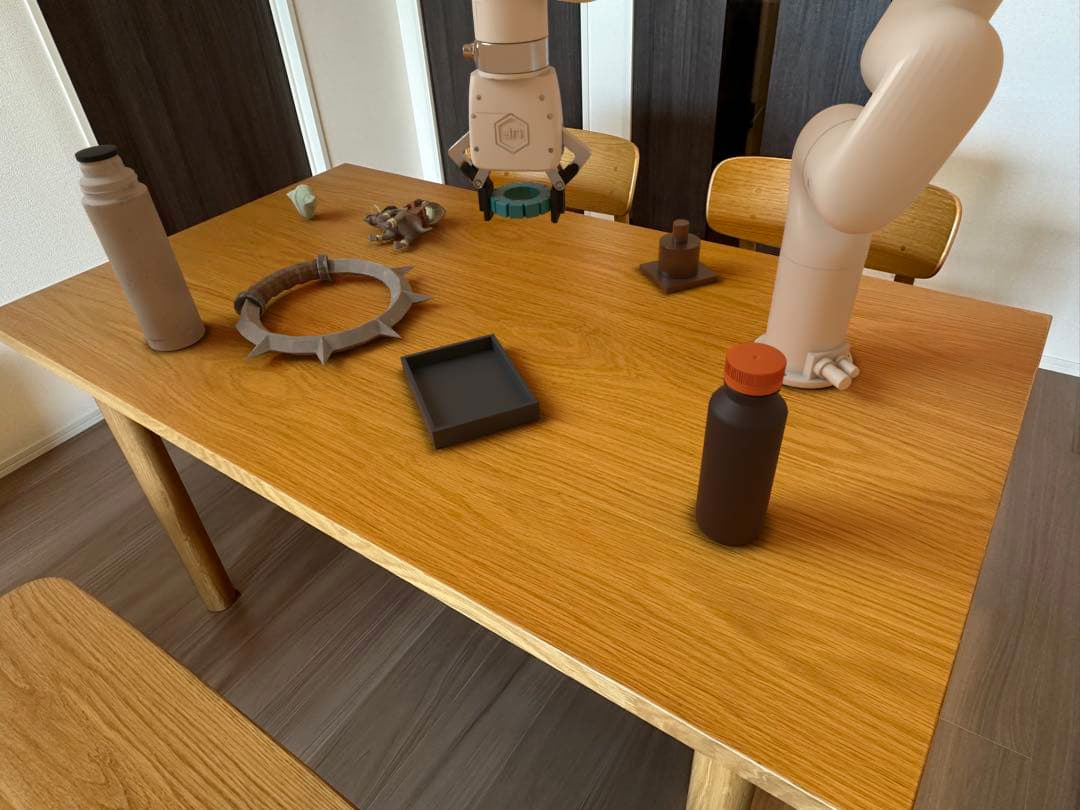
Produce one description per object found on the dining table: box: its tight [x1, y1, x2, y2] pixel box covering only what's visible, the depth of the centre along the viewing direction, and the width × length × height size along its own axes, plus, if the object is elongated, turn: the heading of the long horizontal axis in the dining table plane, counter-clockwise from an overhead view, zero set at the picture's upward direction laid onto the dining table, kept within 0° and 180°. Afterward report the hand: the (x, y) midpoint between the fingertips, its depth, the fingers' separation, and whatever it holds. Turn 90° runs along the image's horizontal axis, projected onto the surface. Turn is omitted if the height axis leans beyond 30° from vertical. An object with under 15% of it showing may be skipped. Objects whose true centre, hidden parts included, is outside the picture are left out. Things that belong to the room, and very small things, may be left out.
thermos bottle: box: [74, 144, 206, 352], centre depth 96 cm, size 8×8×28 cm
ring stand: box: [639, 218, 718, 295], centre depth 109 cm, size 9×9×9 cm
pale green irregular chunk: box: [286, 183, 318, 220], centre depth 136 cm, size 8×4×7 cm, turn 52°
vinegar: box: [694, 341, 789, 546], centre depth 64 cm, size 7×7×20 cm
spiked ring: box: [233, 253, 437, 367], centre depth 106 cm, size 33×4×30 cm
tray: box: [399, 333, 541, 450], centre depth 89 cm, size 17×13×3 cm
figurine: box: [362, 198, 447, 250], centre depth 129 cm, size 20×6×17 cm
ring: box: [490, 181, 552, 220], centre depth 82 cm, size 7×7×2 cm
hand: (522, 216), depth 83 cm, fingers closed on ring, 7 cm apart
